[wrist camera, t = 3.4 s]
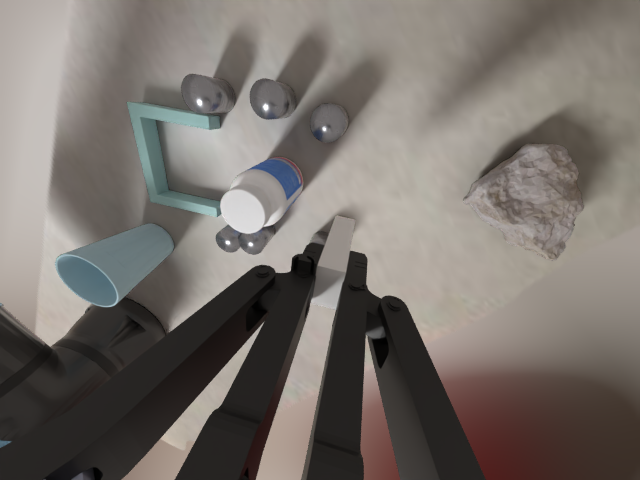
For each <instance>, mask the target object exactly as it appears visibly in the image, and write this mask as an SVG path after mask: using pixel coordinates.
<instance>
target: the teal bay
mask: <svg viewBox="0 0 640 480" xmlns="http://www.w3.org/2000/svg"><path fill="white" fill-rule="evenodd" d="M127 106H128V110H129V114H130V118H131V122H132V127H133V131H134V135H135V139H136V143H137V148H138V152H139V156H140V160H141V164H142V169H143V173H144V177H145V181H146V185H147V190H148V194H149V198H150V202H153V203H157V204H162V205H166V206H171V207H175V208H180V209H184V210H188V211H193V212H197V213H202V214H206V215H211V216H215V217H218V216H219V215H221V214H222V213H221V208H220V203H221V202H220V201H216V200H211V199H207V198H202V197H197V196H193V195H188V194H184V193H179V192H174V191H170V190H169V189H168V183H167V178H166V173H165V168H164V162H163V157H162V152H161V147H160V141H159V136H158V131H157V126H156V121H155V120H160V121H166V122H171V123H176V124H182V125H187V126H192V127H197V128H203V129H208V130H211V129H219V128H220V118H219V116H215V115H210V114H204V113H196V112H193V111H188V110H182V109H177V108H171V107H166V106H160V105H155V104H149V103H144V102H127Z"/></svg>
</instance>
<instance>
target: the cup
mask: <svg viewBox="0 0 640 480" xmlns="http://www.w3.org/2000/svg"><path fill="white" fill-rule="evenodd" d="M173 249H174V243H173V240H172V238H171V236H170V235H169V234H168V232H167V231H166V230H164V229H163V228H162V227H160V226H158V225H155V224H151V223H150V224H144V225H141V226H139V227H136V228H133V229H130V230H128V231H125V232H122V233H119V234H117V235H114V236H111V237H108V238H106V239H103V240H100V241H98V242H95V243H92V244H89V245H87V246H84V247H81V248H78V249H75V250H73V251H70V252H67V253H64V254H62V255H60V256H58V257H57V259H56V262H55V266H56V270H57V273H58V275H59V276H60V278H61V279H62V281H63V282H64V283H65V284H66V286H67V287H68V288H69V289H70V290H72V291H73V292H74V293H75V294H76V295H78V296H79V297H81V298H82V299H84V300H86V301H87V302H90V303H92V304H94V305H97V306H101V307H112V306H114V305H116V304H117V303H118V302H119V301H120V300H121V299H122V298H124V297H125V296H126V295H127V294H128V293H129V292H130V291H131V290H132V289H133V288H134V287H135V286H136V285H137V284H138V283H139V282H140V281H142V280H143V279H144V278H145V277H146V276H147V275H148V274H149V273H150V272H151V271H152V270H153V269H155V268H156V267H157V266H158V265H159V264H160V263H161V262H162V261H163V260H164V259H165V258H166V257H167V256H168V255H170V254H171V253H172V251H173Z"/></svg>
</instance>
